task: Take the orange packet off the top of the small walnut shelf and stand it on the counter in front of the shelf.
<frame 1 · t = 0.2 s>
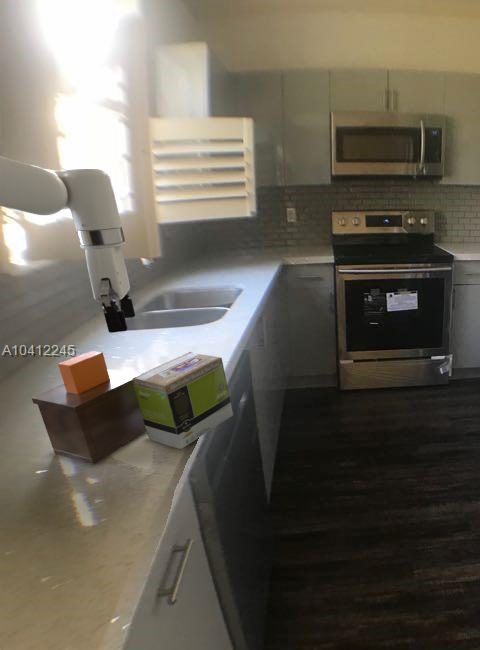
hand: (123, 324, 93), 23 cm above the worktop, tool pointing down, fingers open, 9 cm apart
tea box: (192, 428, 100), on the worktop
packet: (89, 385, 91), point 13 cm above the worktop, touching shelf
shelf: (105, 440, 96), on the worktop
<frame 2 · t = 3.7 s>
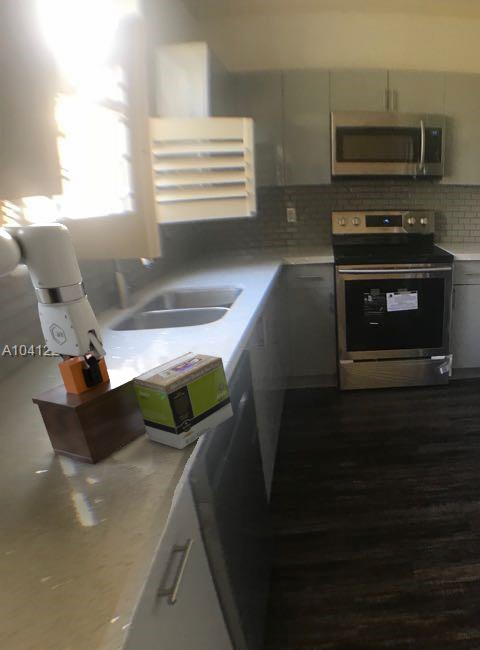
hand: (88, 382, 91), 13 cm above the worktop, tool pointing down, fingers closed on packet, 3 cm apart
packet: (89, 385, 91), point 13 cm above the worktop, touching gripper, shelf
everything else where it was.
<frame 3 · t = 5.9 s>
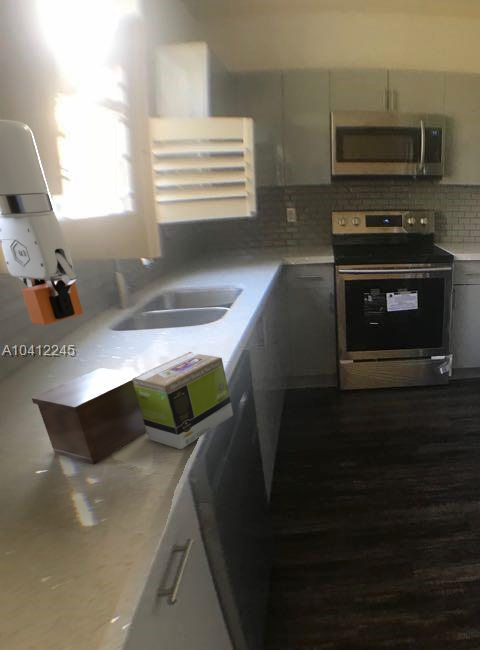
hand: (57, 315, 80), 29 cm above the worktop, tool pointing down, fingers closed on packet, 3 cm apart
packet: (58, 318, 80), point 28 cm above the worktop, touching gripper
everything else where it was.
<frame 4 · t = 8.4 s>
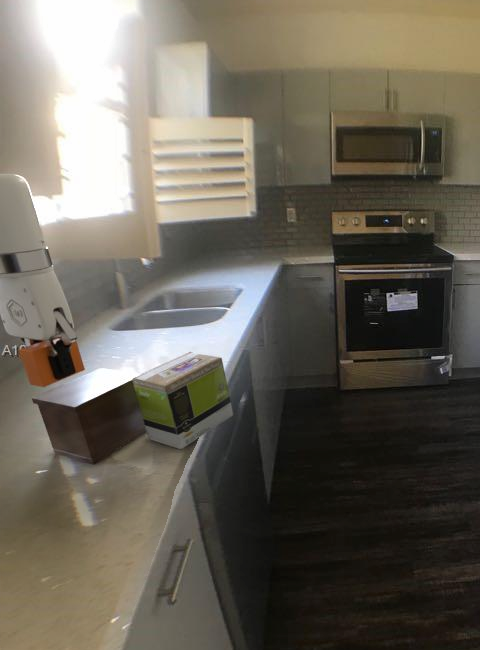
hand: (57, 373, 75), 22 cm above the worktop, tool pointing down, fingers closed on packet, 3 cm apart
packet: (58, 377, 75), point 21 cm above the worktop, touching gripper
everything else where it was.
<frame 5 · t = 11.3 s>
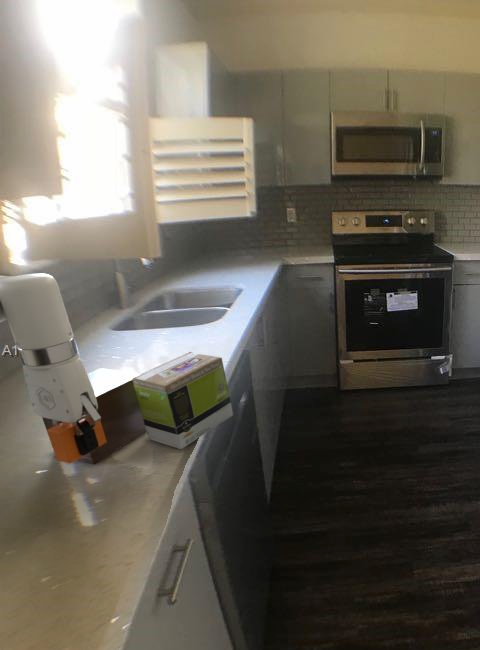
hand: (81, 448, 80), 7 cm above the worktop, tool pointing down, fingers closed on packet, 3 cm apart
packet: (82, 451, 80), point 7 cm above the worktop, touching gripper
everything else where it was.
when the fingers open (1 cm above the worktop, at t = 13.2 s): packet stays where it is, on the worktop.
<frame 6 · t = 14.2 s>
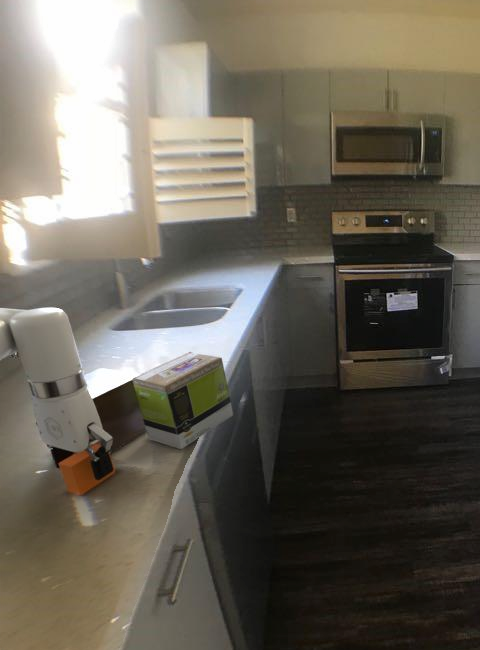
hand: (85, 469, 82), 3 cm above the worktop, tool pointing down, fingers open, 9 cm apart
packet: (92, 481, 83), on the worktop
everything else where it was.
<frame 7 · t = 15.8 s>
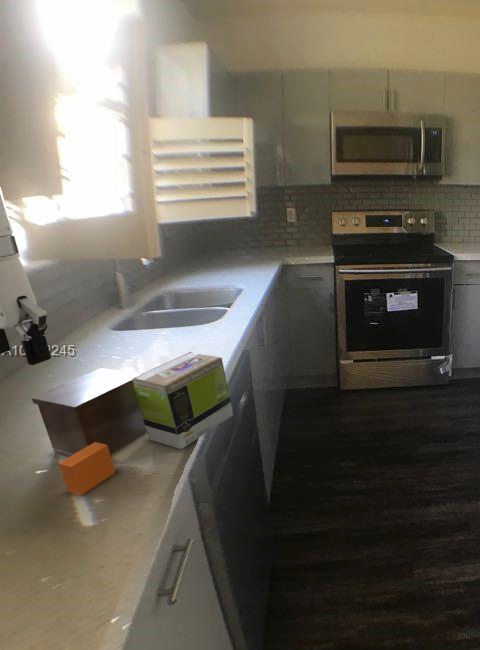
hand: (19, 357, 73), 25 cm above the worktop, tool pointing down, fingers open, 9 cm apart
nothing on the worktop moved.
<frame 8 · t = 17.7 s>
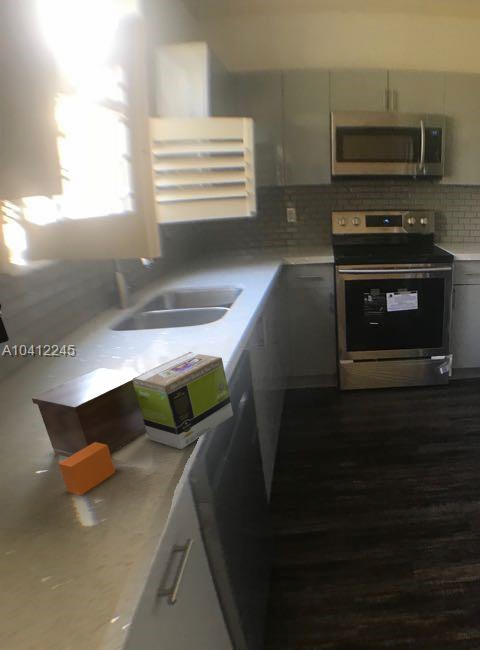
nothing on the worktop moved.
at the end: packet inside the target area (0.1 cm from its centre), on the worktop; packet tilted 0°; the gripper is holding nothing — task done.
